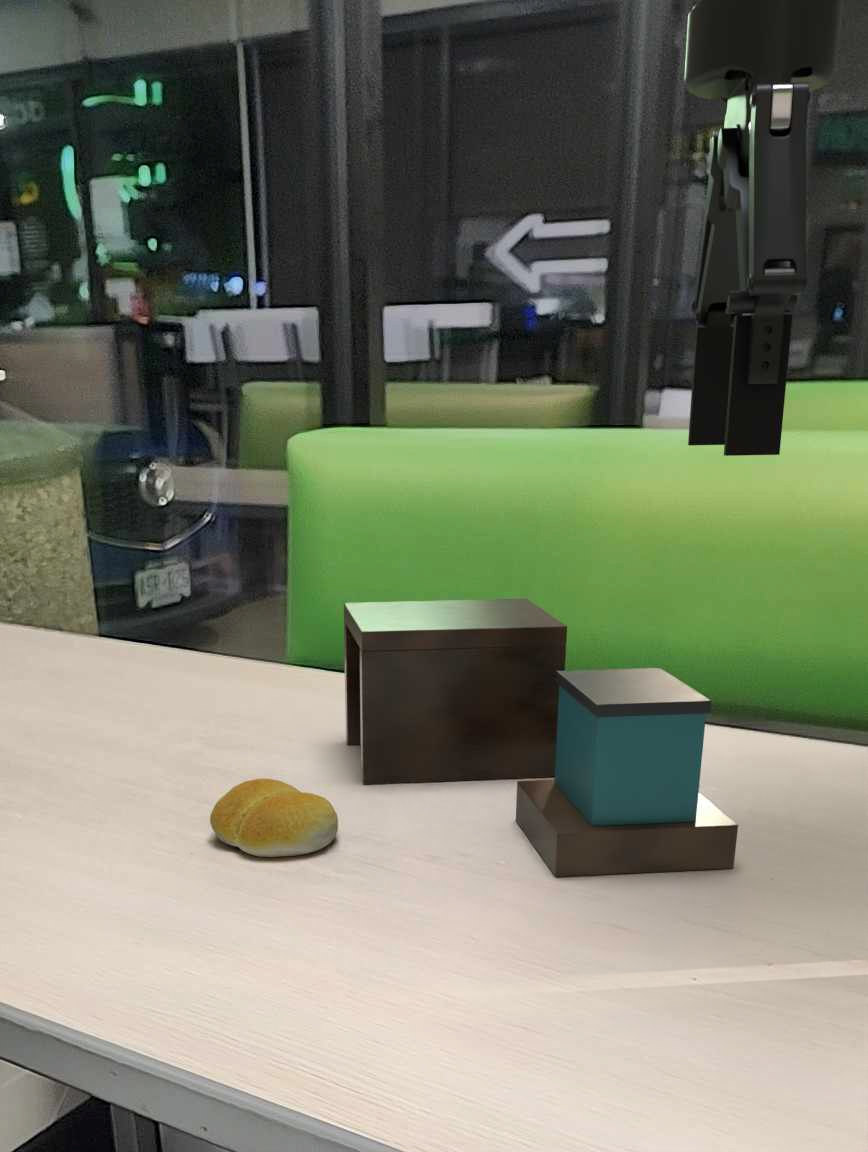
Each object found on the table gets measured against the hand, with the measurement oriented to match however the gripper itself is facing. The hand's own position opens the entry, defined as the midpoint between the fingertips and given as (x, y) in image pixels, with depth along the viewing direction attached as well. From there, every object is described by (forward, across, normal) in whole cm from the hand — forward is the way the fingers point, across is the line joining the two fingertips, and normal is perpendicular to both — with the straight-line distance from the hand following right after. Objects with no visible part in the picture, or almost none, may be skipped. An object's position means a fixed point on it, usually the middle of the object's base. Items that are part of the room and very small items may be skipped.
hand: (729, 450), depth 75 cm
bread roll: (+26, -7, -28) cm, 39 cm away
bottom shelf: (+26, -7, -4) cm, 27 cm away
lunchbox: (+23, -7, -4) cm, 24 cm away
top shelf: (+25, -29, -17) cm, 42 cm away
